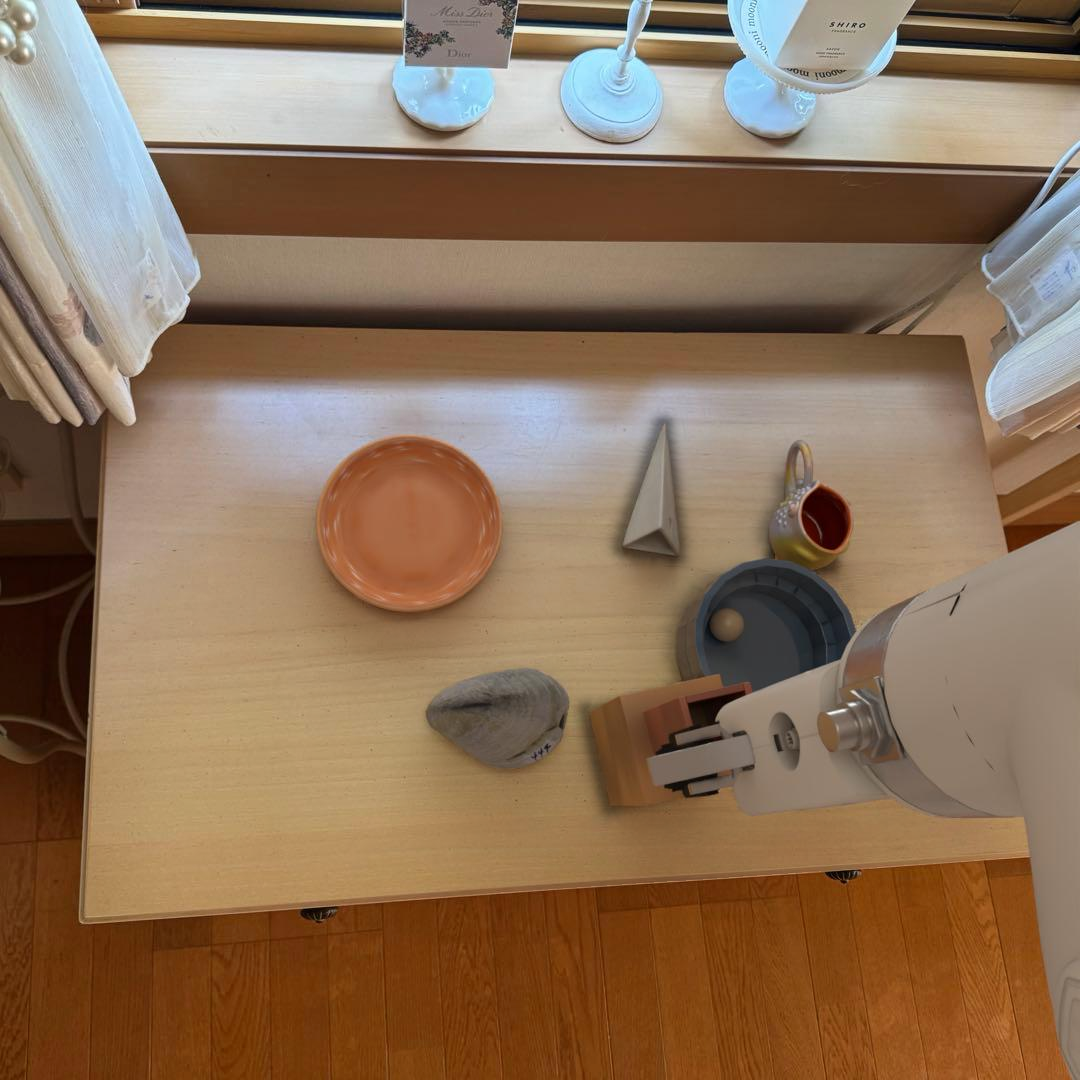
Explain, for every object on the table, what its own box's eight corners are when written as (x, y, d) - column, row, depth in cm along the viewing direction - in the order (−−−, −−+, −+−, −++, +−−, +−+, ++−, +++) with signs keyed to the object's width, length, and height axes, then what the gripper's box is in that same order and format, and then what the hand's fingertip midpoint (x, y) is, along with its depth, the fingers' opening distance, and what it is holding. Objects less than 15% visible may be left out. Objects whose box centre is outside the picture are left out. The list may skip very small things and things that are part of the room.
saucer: (523, 587, 80) (527, 579, 77) (347, 641, 77) (344, 634, 74) (468, 427, 84) (470, 414, 81) (297, 472, 80) (293, 460, 77)
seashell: (426, 774, 74) (428, 772, 70) (424, 674, 77) (425, 665, 72) (568, 766, 76) (578, 763, 71) (561, 669, 78) (571, 660, 74)
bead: (734, 646, 81) (727, 650, 78) (707, 626, 82) (699, 629, 79) (753, 619, 80) (747, 623, 77) (725, 599, 81) (718, 602, 78)
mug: (837, 574, 85) (871, 555, 78) (767, 575, 84) (797, 556, 77) (818, 455, 88) (850, 428, 82) (752, 455, 87) (779, 427, 81)
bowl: (847, 714, 81) (881, 707, 75) (699, 750, 78) (721, 745, 72) (801, 563, 84) (829, 545, 79) (657, 591, 82) (675, 575, 76)
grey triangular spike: (609, 417, 86) (611, 536, 80) (656, 406, 84) (662, 527, 78) (628, 449, 91) (632, 564, 84) (674, 439, 89) (681, 556, 83)
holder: (699, 784, 77) (799, 776, 57) (610, 806, 76) (682, 805, 56) (674, 693, 79) (764, 654, 59) (588, 712, 78) (650, 679, 58)
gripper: (754, 880, 27) (627, 859, 44) (1220, 757, 31) (941, 780, 47) (690, 641, 29) (591, 706, 46) (1133, 550, 33) (895, 641, 49)
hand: (769, 744), depth 46 cm, fingers open, 9 cm apart
